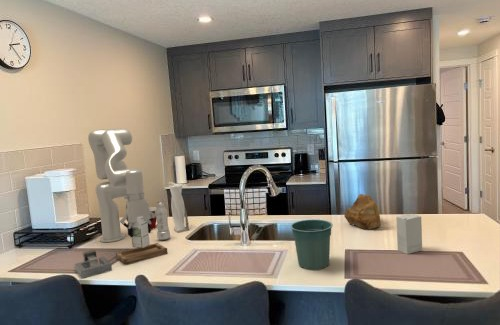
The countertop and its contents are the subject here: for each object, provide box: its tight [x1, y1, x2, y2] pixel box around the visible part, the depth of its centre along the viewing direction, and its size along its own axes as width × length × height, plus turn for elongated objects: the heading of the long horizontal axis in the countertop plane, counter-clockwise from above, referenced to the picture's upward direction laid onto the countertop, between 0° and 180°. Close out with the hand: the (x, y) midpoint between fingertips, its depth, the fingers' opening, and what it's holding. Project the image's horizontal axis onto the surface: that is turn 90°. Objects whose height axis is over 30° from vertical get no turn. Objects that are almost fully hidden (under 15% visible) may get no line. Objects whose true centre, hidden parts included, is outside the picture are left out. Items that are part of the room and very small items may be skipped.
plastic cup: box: [149, 206, 158, 230], centre depth 226 cm, size 11×11×12 cm
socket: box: [74, 256, 113, 279], centre depth 162 cm, size 12×12×3 cm
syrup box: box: [131, 216, 151, 249], centre depth 175 cm, size 6×6×14 cm
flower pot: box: [290, 218, 334, 270], centre depth 151 cm, size 16×16×16 cm
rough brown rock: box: [343, 193, 381, 230], centre depth 201 cm, size 23×17×15 cm
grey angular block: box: [82, 249, 99, 267], centre depth 170 cm, size 9×5×4 cm, turn 36°
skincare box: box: [396, 213, 423, 255], centre depth 158 cm, size 8×6×15 cm
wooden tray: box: [115, 242, 169, 266], centre depth 177 cm, size 12×20×2 cm, turn 126°
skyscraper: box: [168, 182, 190, 233], centre depth 216 cm, size 8×8×28 cm
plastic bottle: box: [155, 201, 171, 241], centre depth 200 cm, size 6×7×20 cm
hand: (140, 234), depth 176 cm, fingers closed on syrup box, 7 cm apart
